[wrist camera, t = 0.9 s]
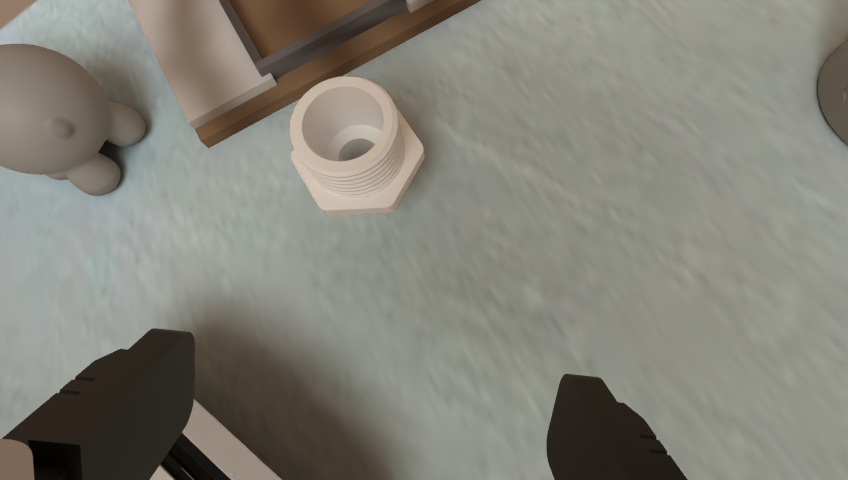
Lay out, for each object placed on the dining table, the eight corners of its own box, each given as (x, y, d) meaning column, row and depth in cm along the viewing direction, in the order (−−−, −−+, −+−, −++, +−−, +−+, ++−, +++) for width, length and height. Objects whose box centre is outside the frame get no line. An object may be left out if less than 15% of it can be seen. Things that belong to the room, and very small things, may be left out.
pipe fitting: (299, 212, 31) (246, 158, 23) (357, 119, 32) (325, 39, 25) (387, 257, 30) (362, 216, 22) (443, 159, 31) (437, 88, 23)
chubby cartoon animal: (32, 65, 35) (-98, -29, 27) (169, 122, 33) (74, 40, 25) (-29, 150, 34) (-186, 79, 26) (111, 216, 32) (-11, 161, 24)
